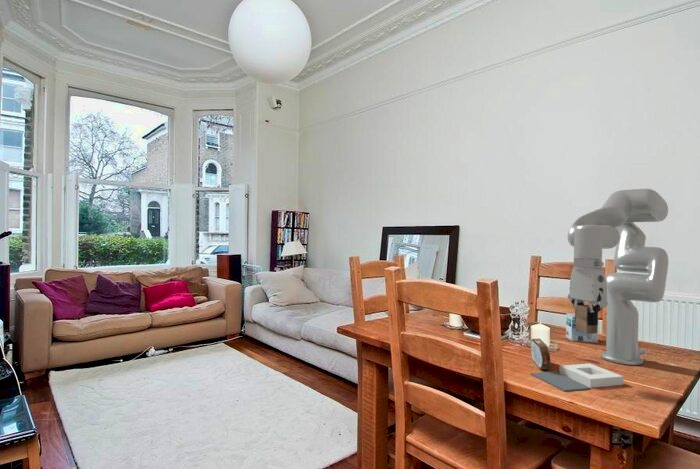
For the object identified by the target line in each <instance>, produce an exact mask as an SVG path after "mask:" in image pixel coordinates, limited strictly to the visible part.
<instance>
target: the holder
mask: <svg viewBox="0 0 700 469" xmlns="http://www.w3.org/2000/svg"><path fill="white" fill-rule="evenodd" d="M558 368H559V369H558V370H559V371H558V373H559V374H561V375H564V376H566V377H568V378H570V379H572V380H575V381H577V382H579V383H581V384H583V385H585V386H588V387H590V389H591V388H601V387H614V386H615V387H616V386H623V385H624V376H623V375H621V374H619V373H616V372H613V371H611V370H608V369H605V368H603V367H600V366H598V365H595V364H592V363H581V364H579V363H578V364H576V363H575V364H566V365H565V364H564V365H563V364H562V365H559V367H558Z"/></svg>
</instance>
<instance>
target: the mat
mask: <svg viewBox="0 0 700 469" xmlns="http://www.w3.org/2000/svg"><path fill="white" fill-rule="evenodd" d="M530 375H532V376H533V377H536V378H537V379H538V380H539V379H540V380H541V381H543V382H544V383H547V384H549V385H551V386H553V387H555V388H557V389H559V390H561V391H563V392H564V393H565V392H573V391H576V392H577V391H585V390H591V388H590V387H588V386H586V385H584V384H581V383H579V382H577V381H575V380H573V379H571V378H568V377H566V376H564V375H562V374H560V373H559V372H557V371H555V370H554V371H541V372H531V373H530Z"/></svg>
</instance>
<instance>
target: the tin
mask: <svg viewBox="0 0 700 469" xmlns="http://www.w3.org/2000/svg"><path fill="white" fill-rule="evenodd" d="M530 353H531V354H530V355H531V359H532V361H533V362H534V364H535V365H536V366H537V368H538V369H539V370H542V371H543V370H546V371H549V370H550V369H551V355H550V351H549V346H548V345H547V344H546V343H545V342H544V341H543V340H542V339H541V338H532V339H531V340H530Z"/></svg>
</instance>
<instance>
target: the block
mask: <svg viewBox="0 0 700 469" xmlns="http://www.w3.org/2000/svg"><path fill="white" fill-rule="evenodd" d="M588 312H590V310H589V304H584V305H576V331H579V332H582V333H585V334H592V333H597V325H593V326H590V325H588Z"/></svg>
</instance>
